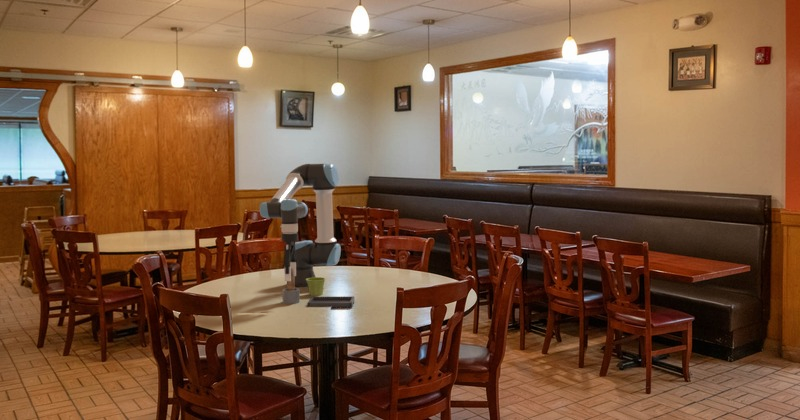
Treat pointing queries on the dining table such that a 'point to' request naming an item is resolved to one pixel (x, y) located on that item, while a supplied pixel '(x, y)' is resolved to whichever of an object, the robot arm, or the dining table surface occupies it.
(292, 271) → the dowel
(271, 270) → the dining table surface
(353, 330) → the dining table surface
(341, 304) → the tray
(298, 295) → the cup
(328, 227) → the robot arm
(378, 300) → the dining table surface
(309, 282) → the plant pot
